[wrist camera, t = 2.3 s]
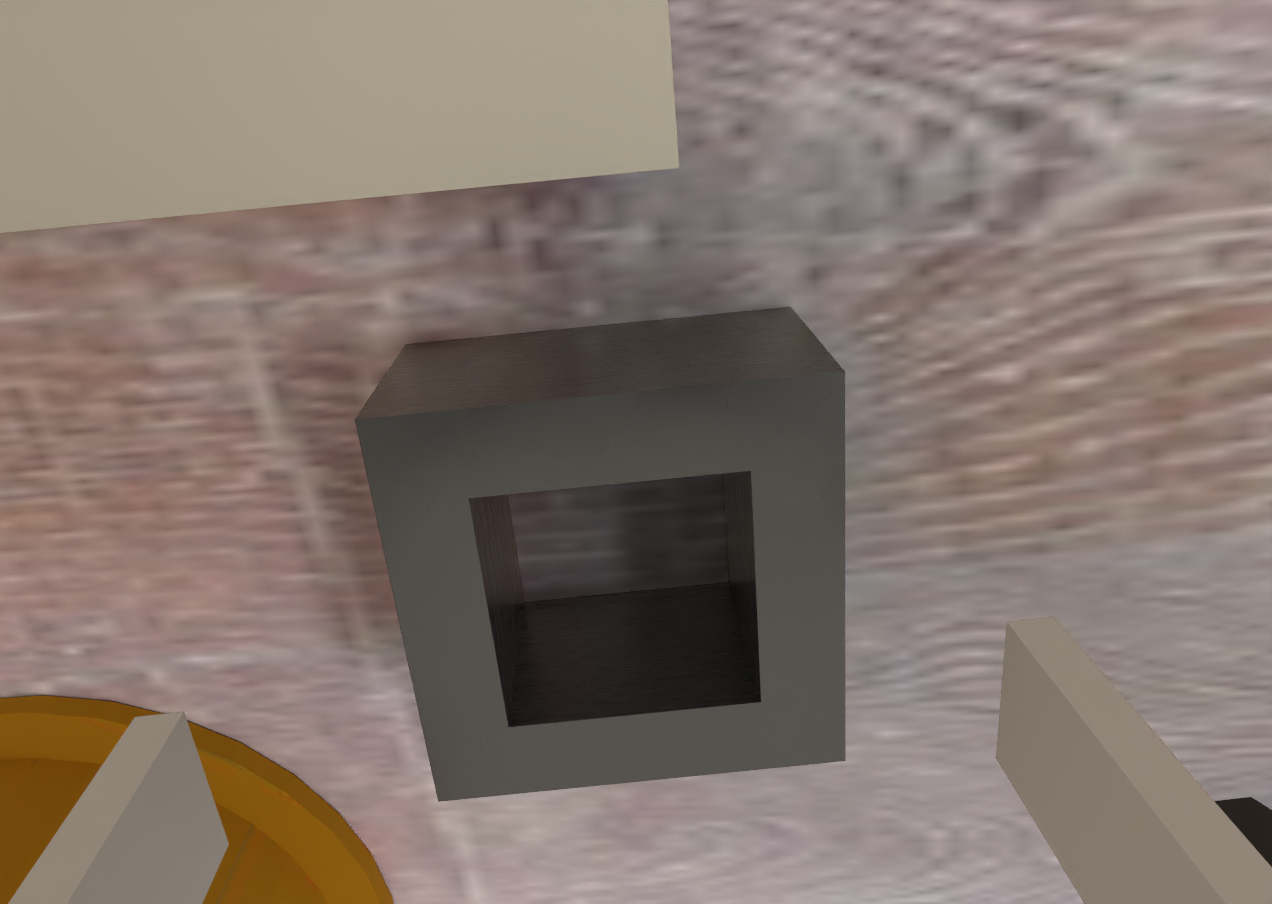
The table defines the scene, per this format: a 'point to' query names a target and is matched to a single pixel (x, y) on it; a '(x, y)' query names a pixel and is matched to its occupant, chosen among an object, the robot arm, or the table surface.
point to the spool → (240, 785)
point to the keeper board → (318, 101)
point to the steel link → (623, 622)
